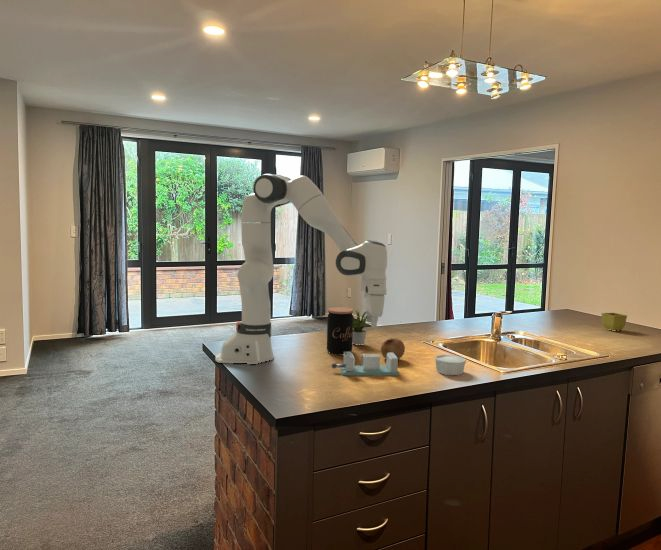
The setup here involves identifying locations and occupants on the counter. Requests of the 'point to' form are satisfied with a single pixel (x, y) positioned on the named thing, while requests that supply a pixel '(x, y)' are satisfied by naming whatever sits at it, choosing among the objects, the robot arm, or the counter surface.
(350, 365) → the jaw
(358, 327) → the house plant
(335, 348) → the coffee jar
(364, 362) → the block
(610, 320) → the flower pot
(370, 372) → the vise
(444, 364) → the ramekin
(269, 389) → the counter surface
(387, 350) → the onion
